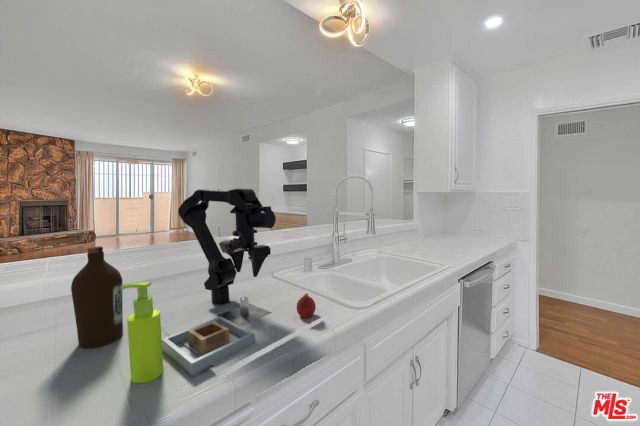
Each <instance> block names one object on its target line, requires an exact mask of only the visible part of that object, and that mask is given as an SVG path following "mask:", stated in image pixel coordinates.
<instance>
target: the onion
mask: <svg viewBox="0 0 640 426" xmlns="http://www.w3.org/2000/svg"><path fill="white" fill-rule="evenodd" d="M296 312H297V314H298V315H299V316H300V317H301V318H304V319H306V318H307V319H308V318H311V317H312V315H314V314H315V312H316V302H315V301H314V299H313V297H311V296H309V293H308V292H305V293H304V294H303V296H301V297H300V298H299V300H298V301H297V303H296Z"/></svg>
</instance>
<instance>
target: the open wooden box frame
mask: <svg viewBox="0 0 640 426" xmlns="http://www.w3.org/2000/svg"><path fill="white" fill-rule="evenodd" d="M229 343H230V331H229V329H228V328H227V327H225V326H223V325H221V324H219V323H217V322H215V321H213V322H210V323H208V324H205V325H203V326H200V327H197V328H195V329H192V330H190V331H188V346H189V348H190V347H191V348H192V349H193V350H195V352H198V354H200V355H202V356H203V355H205V354H207V353H210V352H212V351H214V350H216V349H218V348H220V347H222V346H225V345H227V344H229Z"/></svg>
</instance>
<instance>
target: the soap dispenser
mask: <svg viewBox="0 0 640 426" xmlns="http://www.w3.org/2000/svg"><path fill="white" fill-rule="evenodd" d="M150 286H152V281H135V282H129V283H126V284H124V285H123V284H122V287H120V288H121V289H122V290H124V289H130V288H131V289H132V288H133V289H134V288H137V297H136V298H134V299H133V301H132V302H133V313H132V314H130V315H129V316H127V317H126V322H127V338H128V350H129V352H128V353H129V365H130V367H129V368H130V381H131V382H132V383H133V384H145V383H148V382H151V381H154V380H155V379H157V378H159V377H160V376H161V375H162V373H164V361H163V360H164V359H163V351H162V339H163V338H162V326H161V325H162V324H161V322H162V321H161V311H160V310H159V309H154V303H153V302H154V301H153V296H151V295H148V288H149V287H150Z"/></svg>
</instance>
